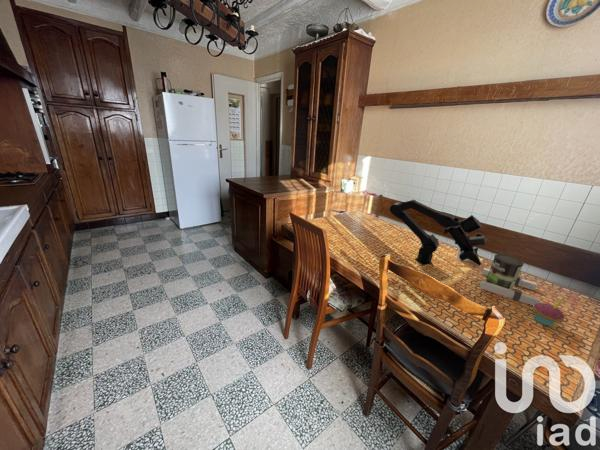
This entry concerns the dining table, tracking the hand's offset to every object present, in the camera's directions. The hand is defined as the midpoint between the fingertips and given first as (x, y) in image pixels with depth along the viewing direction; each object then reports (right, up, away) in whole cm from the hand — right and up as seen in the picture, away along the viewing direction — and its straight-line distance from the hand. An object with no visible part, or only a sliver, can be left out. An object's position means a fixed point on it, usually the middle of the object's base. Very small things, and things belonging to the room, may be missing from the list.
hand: (480, 264), depth 117 cm
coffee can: (+7, -10, -2) cm, 12 cm away
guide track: (+9, -10, -4) cm, 14 cm away
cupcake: (+6, -18, -24) cm, 31 cm away
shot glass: (+6, 0, +21) cm, 22 cm away
